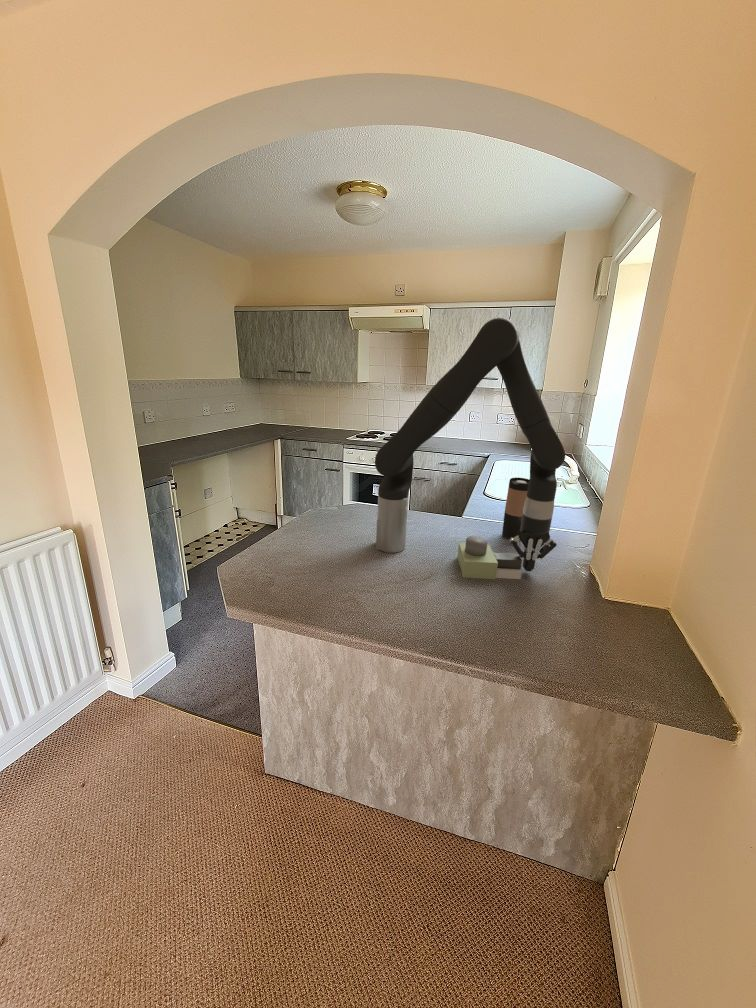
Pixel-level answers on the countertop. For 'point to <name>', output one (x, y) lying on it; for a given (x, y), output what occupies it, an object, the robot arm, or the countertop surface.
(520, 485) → the travel mug
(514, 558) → the dark grey box
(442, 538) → the countertop surface
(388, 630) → the countertop surface
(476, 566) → the two-prong plug
